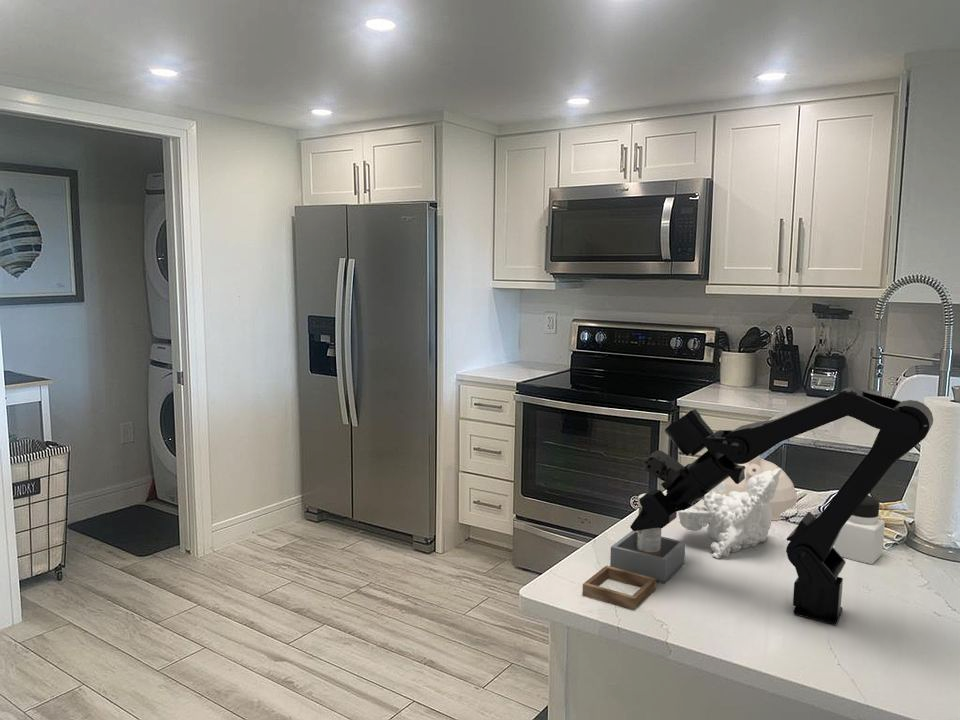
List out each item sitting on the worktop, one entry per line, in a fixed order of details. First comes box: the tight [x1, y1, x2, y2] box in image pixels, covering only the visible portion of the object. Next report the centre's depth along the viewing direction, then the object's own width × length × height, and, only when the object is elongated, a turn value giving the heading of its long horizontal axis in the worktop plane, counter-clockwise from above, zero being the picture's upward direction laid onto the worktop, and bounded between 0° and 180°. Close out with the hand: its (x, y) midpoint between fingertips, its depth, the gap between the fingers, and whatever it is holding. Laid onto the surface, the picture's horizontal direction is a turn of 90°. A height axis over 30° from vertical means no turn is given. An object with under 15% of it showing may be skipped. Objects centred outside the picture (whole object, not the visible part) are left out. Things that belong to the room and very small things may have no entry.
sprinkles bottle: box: [637, 492, 662, 557], centre depth 136 cm, size 5×5×14 cm
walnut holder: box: [581, 565, 657, 611], centre depth 126 cm, size 10×10×2 cm
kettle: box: [722, 455, 798, 522], centre depth 171 cm, size 20×21×18 cm
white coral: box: [677, 467, 783, 560], centre depth 149 cm, size 19×20×20 cm
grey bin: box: [609, 530, 686, 585], centre depth 137 cm, size 11×11×4 cm
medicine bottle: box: [833, 494, 886, 565], centre depth 143 cm, size 7×7×12 cm
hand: (642, 521), depth 137 cm, fingers open, 9 cm apart
